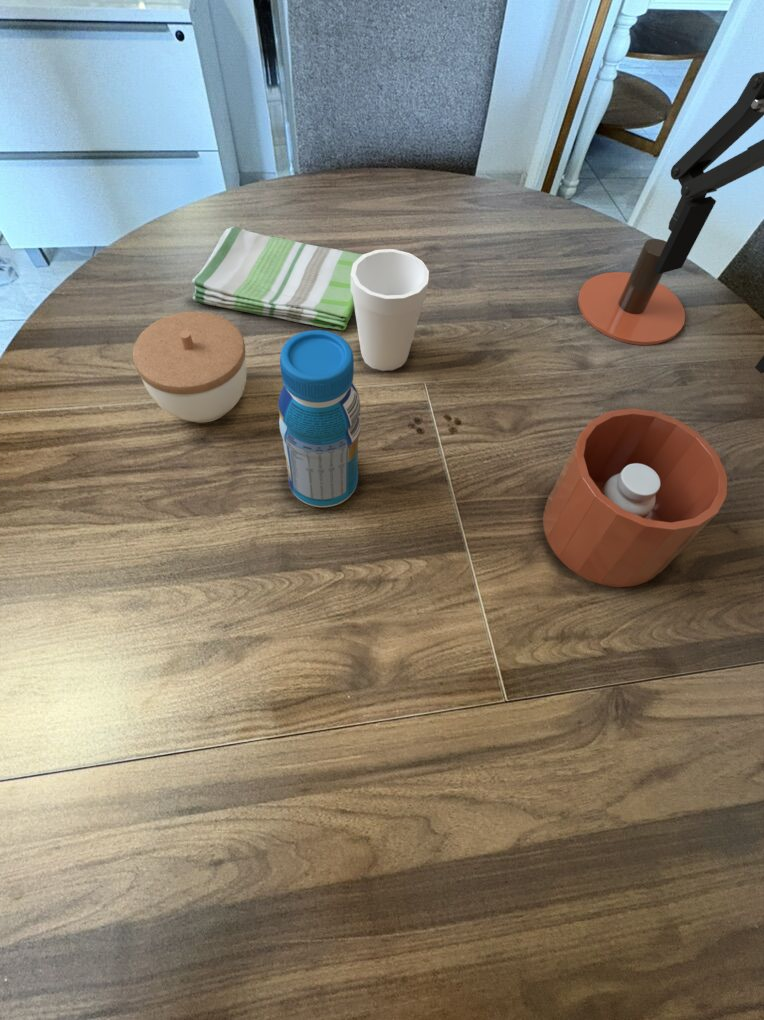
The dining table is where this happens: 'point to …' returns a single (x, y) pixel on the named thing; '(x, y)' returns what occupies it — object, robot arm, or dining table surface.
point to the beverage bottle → (319, 417)
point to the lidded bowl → (192, 365)
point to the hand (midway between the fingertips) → (715, 314)
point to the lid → (633, 302)
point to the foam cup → (387, 304)
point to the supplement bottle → (633, 489)
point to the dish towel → (278, 279)
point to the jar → (616, 532)
